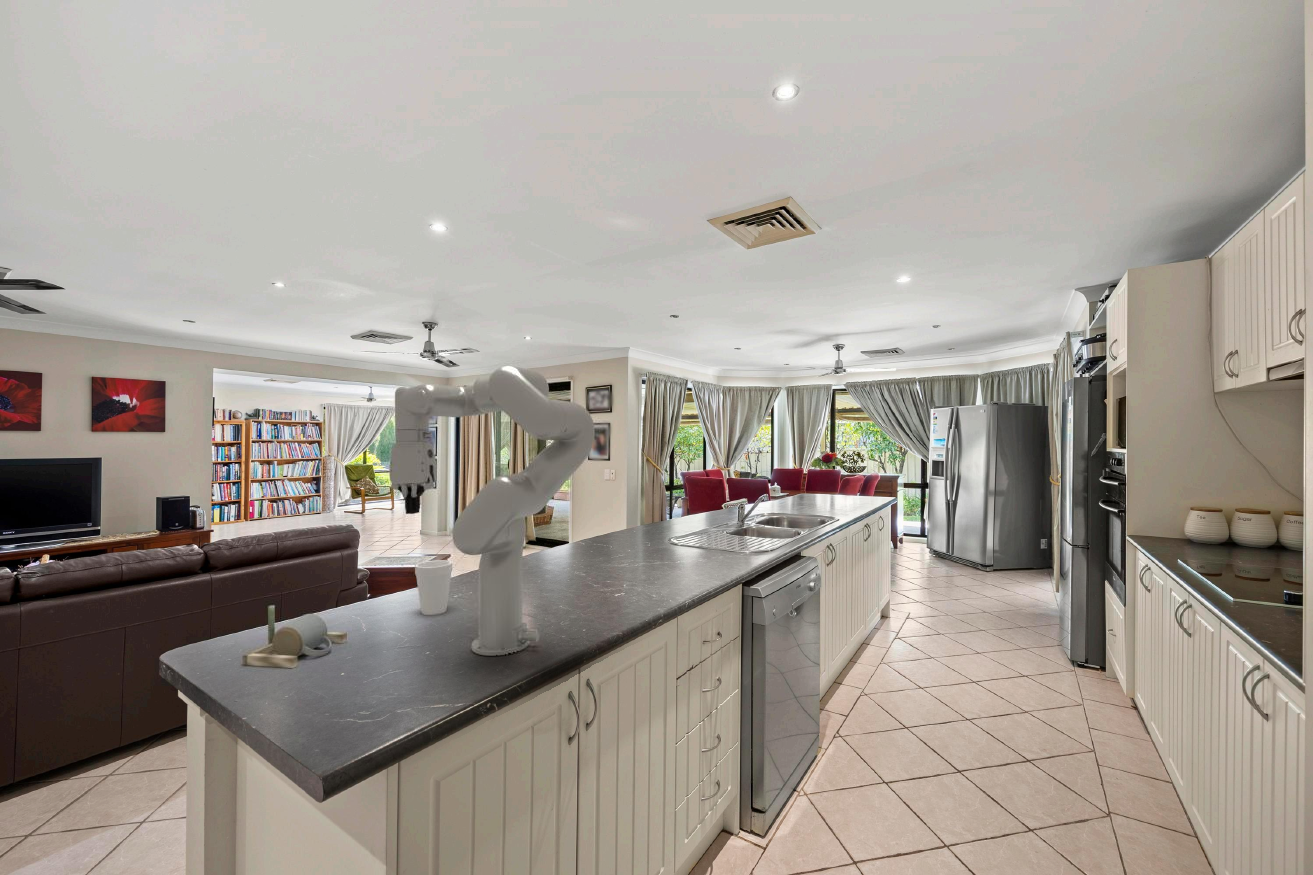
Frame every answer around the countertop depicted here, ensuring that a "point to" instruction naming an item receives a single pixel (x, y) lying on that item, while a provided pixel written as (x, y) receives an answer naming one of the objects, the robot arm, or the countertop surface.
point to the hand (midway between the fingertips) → (412, 513)
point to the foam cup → (433, 585)
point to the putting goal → (264, 653)
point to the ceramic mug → (302, 637)
